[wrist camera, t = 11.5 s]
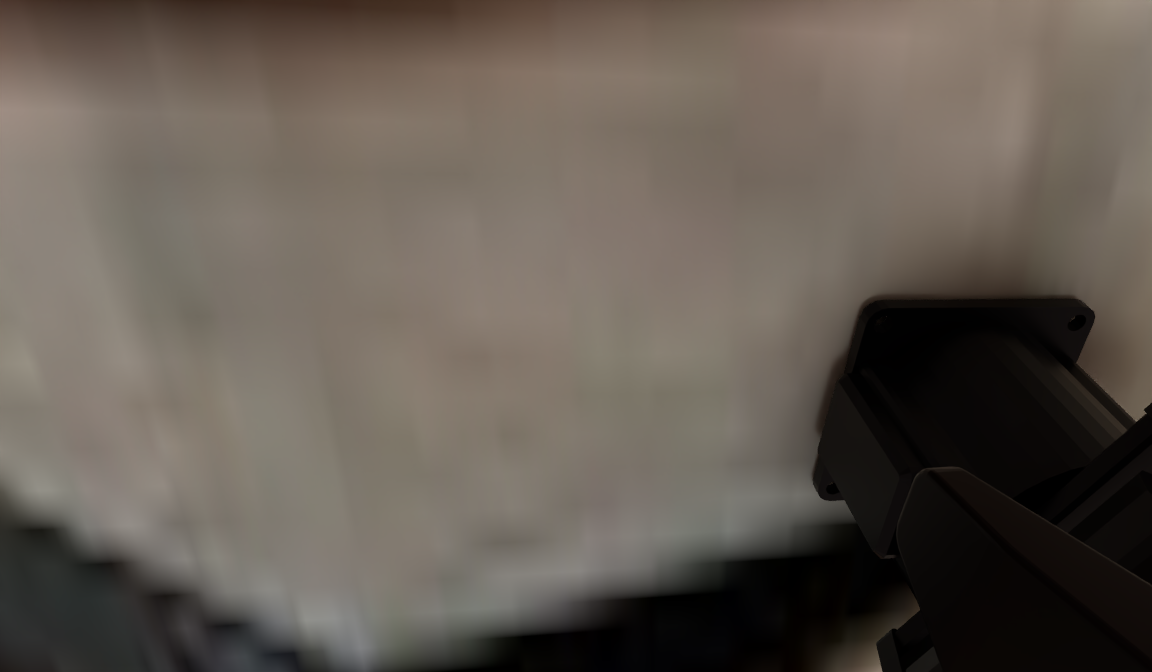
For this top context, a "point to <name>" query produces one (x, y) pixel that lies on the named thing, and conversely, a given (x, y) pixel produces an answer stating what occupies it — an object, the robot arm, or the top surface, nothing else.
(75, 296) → the top surface
